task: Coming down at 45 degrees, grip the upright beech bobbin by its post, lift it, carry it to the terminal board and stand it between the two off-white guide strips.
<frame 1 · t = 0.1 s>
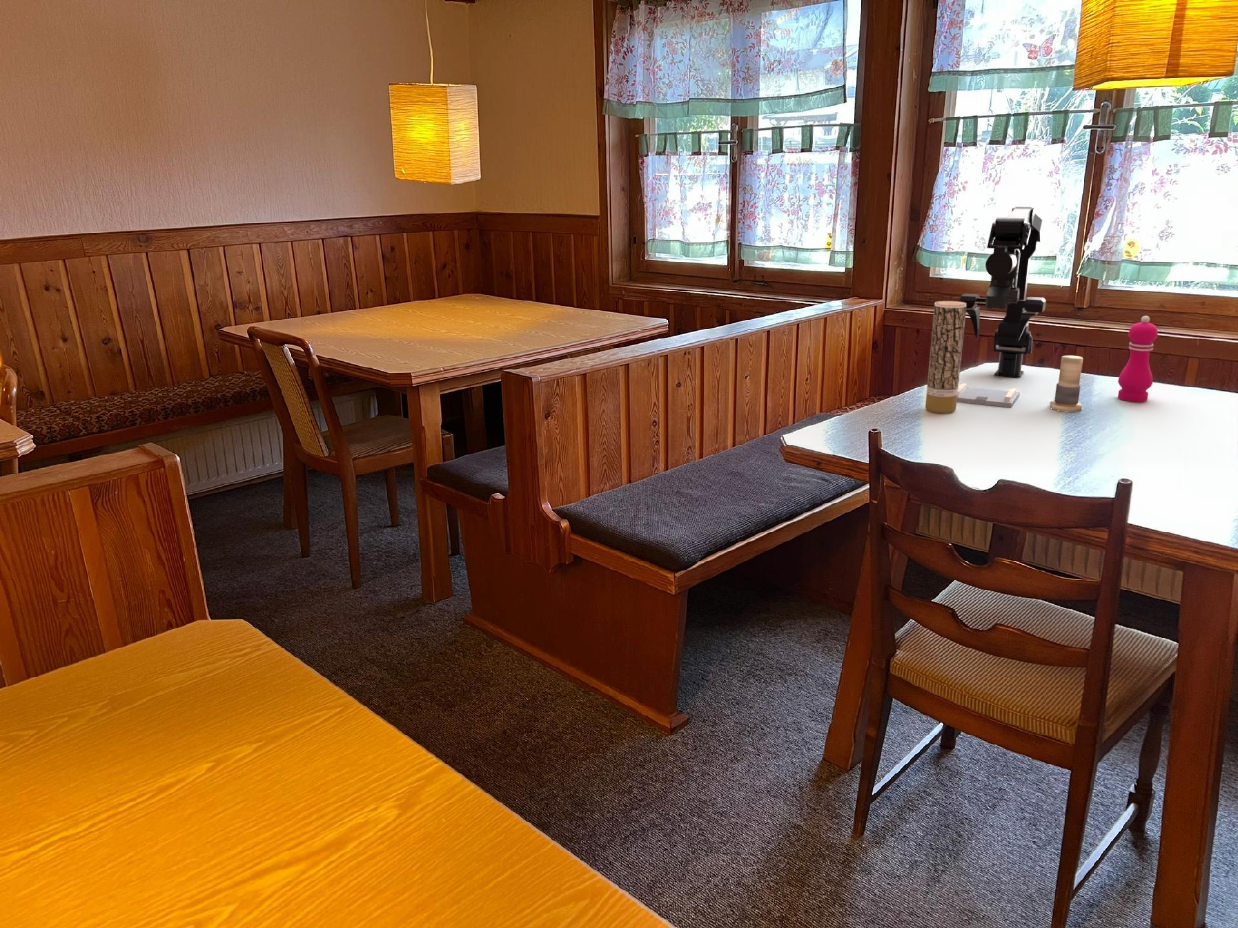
hand: (997, 339, 217), 15 cm above the table, tool pointing down, fingers open, 9 cm apart
pepper mill: (1132, 399, 218), on the table
bobbin: (1065, 408, 212), on the table
wooden log: (940, 411, 212), on the table
terminal board: (984, 398, 222), on the table
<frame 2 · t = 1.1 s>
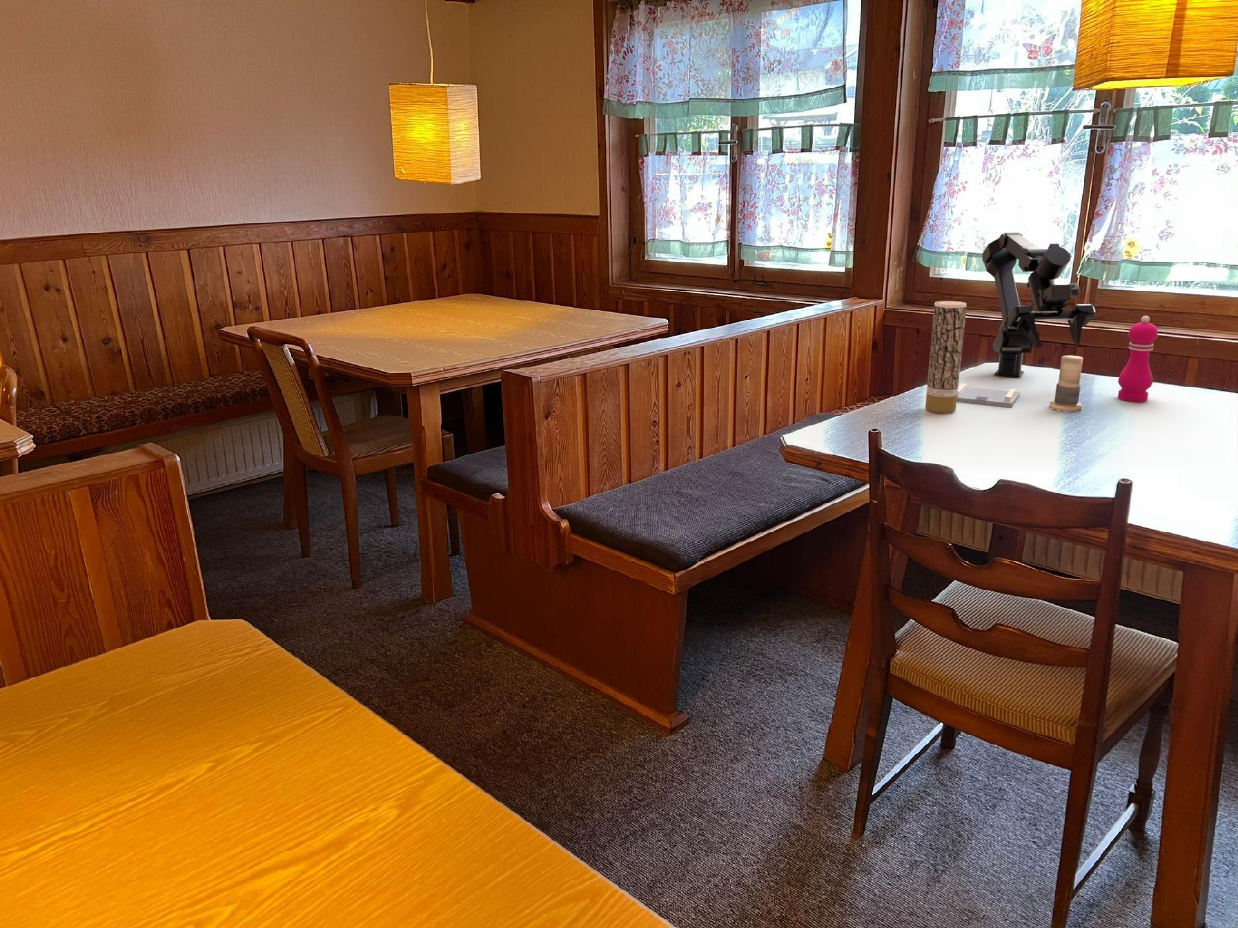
hand: (1058, 345, 215), 13 cm above the table, tool tilted 45°, fingers open, 9 cm apart
nothing on the table moved.
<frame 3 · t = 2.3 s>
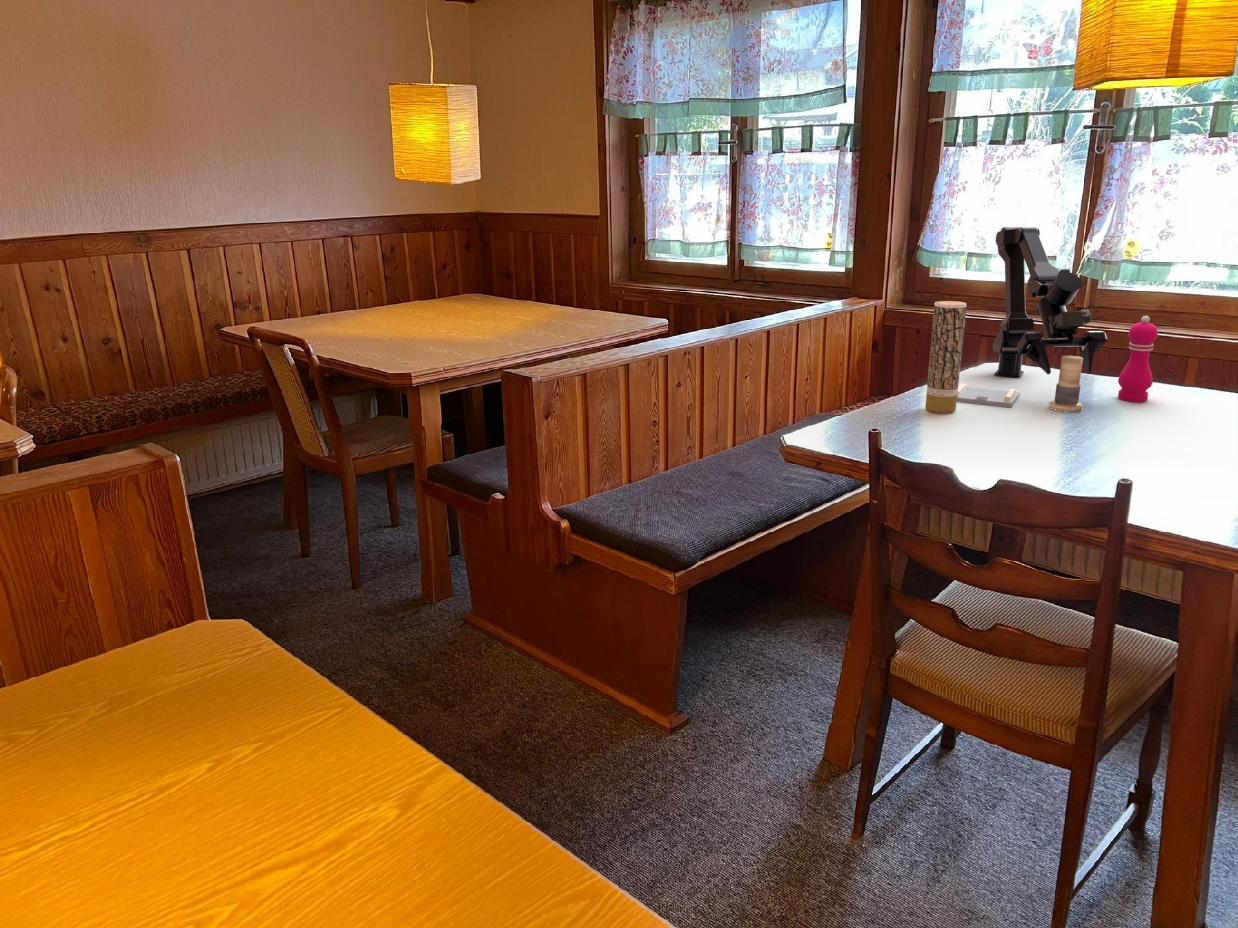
hand: (1069, 373, 210), 8 cm above the table, tool tilted 45°, fingers open, 9 cm apart
nothing on the table moved.
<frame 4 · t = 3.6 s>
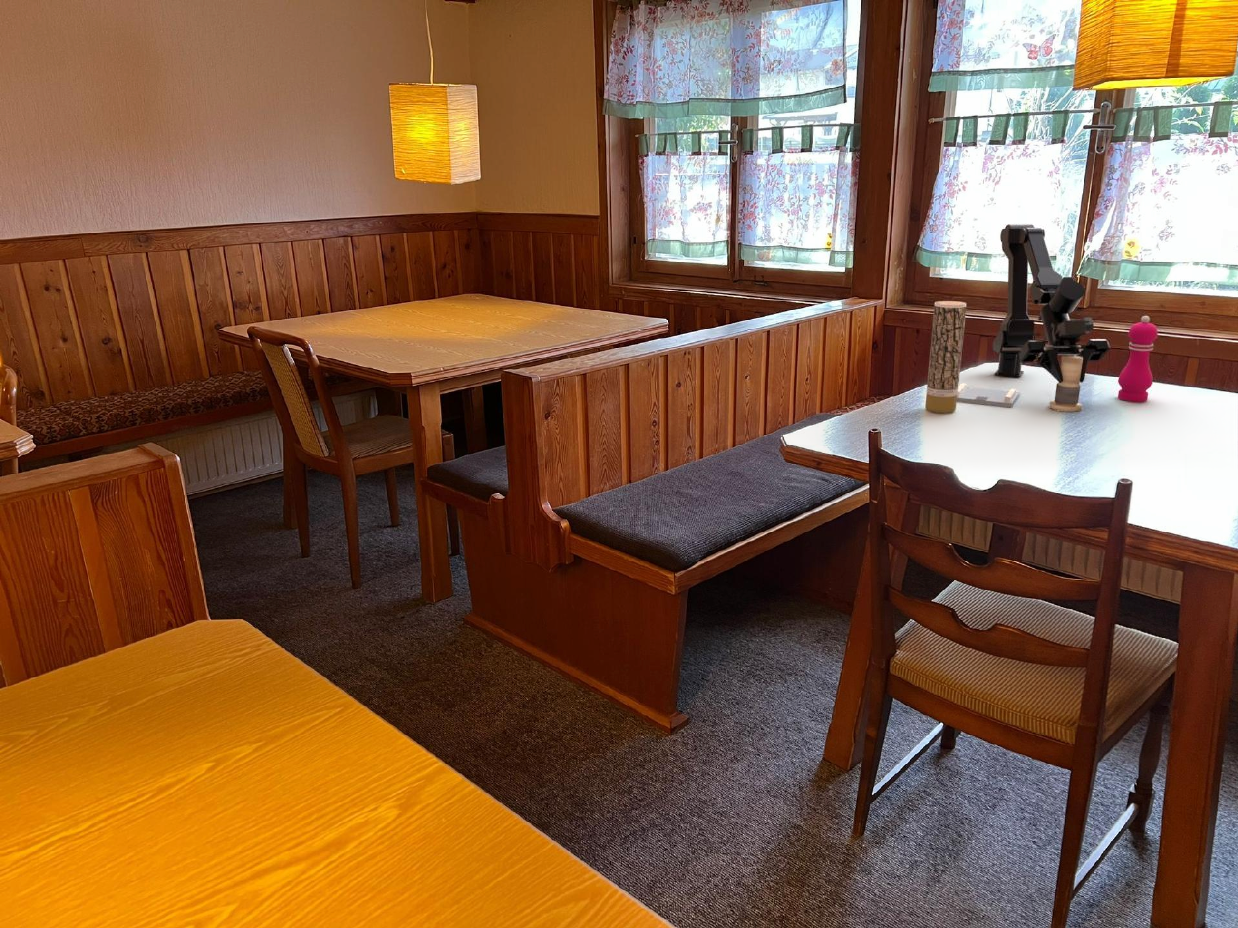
hand: (1071, 381, 208), 7 cm above the table, tool tilted 45°, fingers closed on bobbin, 4 cm apart
bobbin: (1065, 408, 212), on the table, touching gripper
everything else where it was.
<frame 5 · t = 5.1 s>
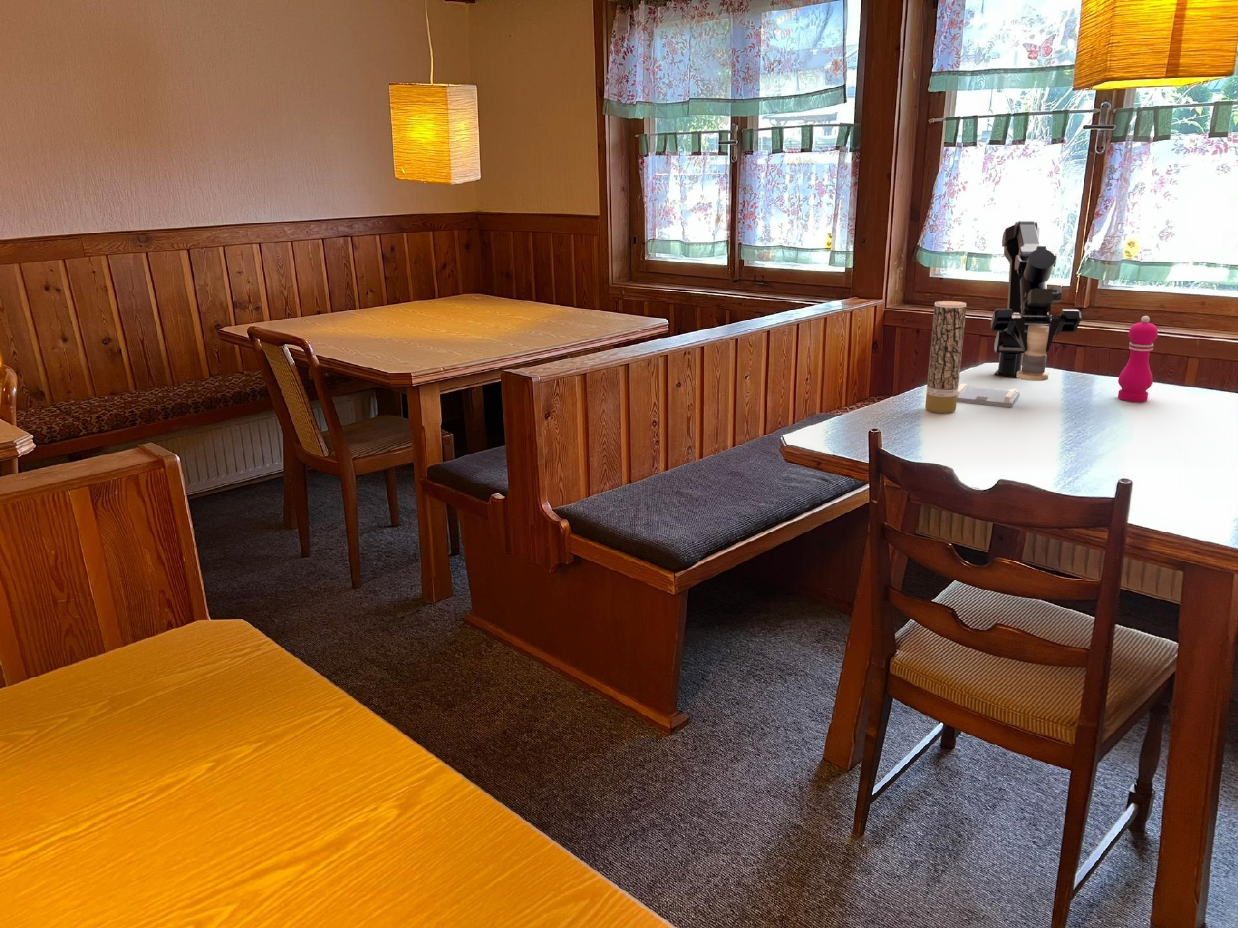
hand: (1036, 350, 209), 13 cm above the table, tool tilted 45°, fingers closed on bobbin, 4 cm apart
bobbin: (1032, 377, 213), point 7 cm above the table, touching gripper
everything else where it was.
when the fingers open (9 cm above the table, at t = 6.9 s): bobbin drops 1 cm, resting on terminal board.
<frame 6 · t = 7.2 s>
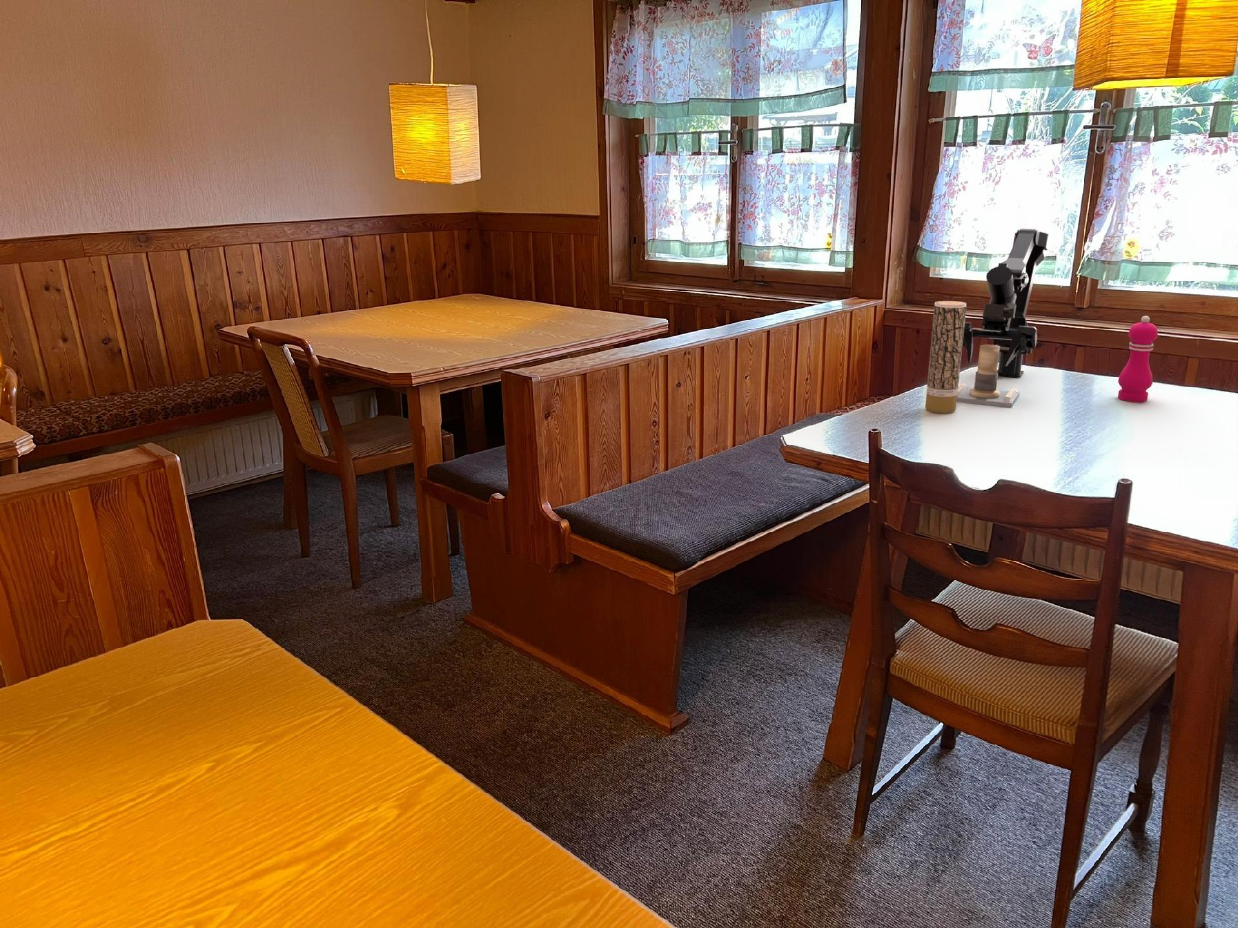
hand: (986, 363, 217), 9 cm above the table, tool tilted 45°, fingers open, 8 cm apart
bobbin: (984, 395, 220), point 1 cm above the table, touching terminal board
everything else where it was.
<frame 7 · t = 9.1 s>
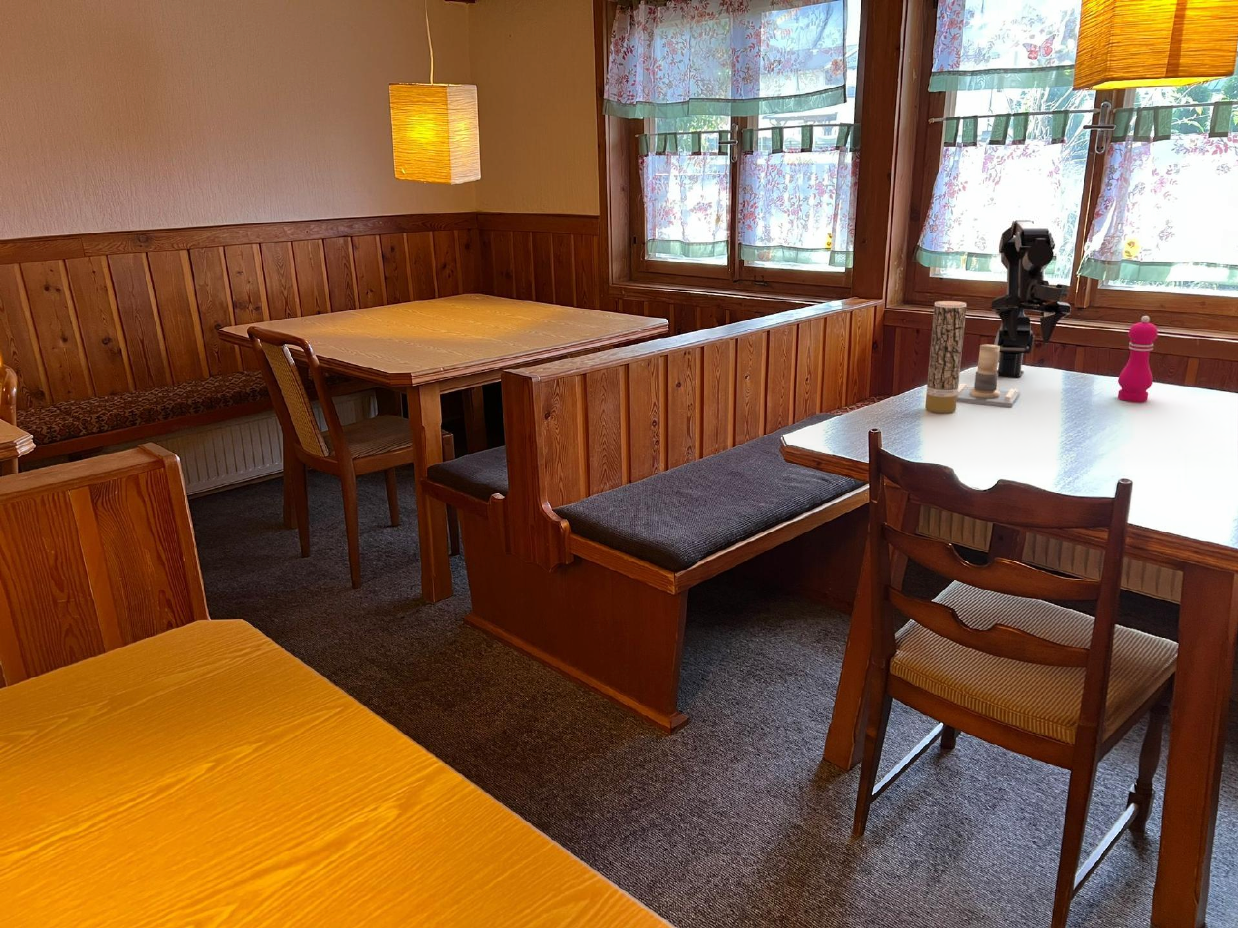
hand: (1030, 341, 220), 13 cm above the table, tool tilted 25°, fingers open, 9 cm apart
nothing on the table moved.
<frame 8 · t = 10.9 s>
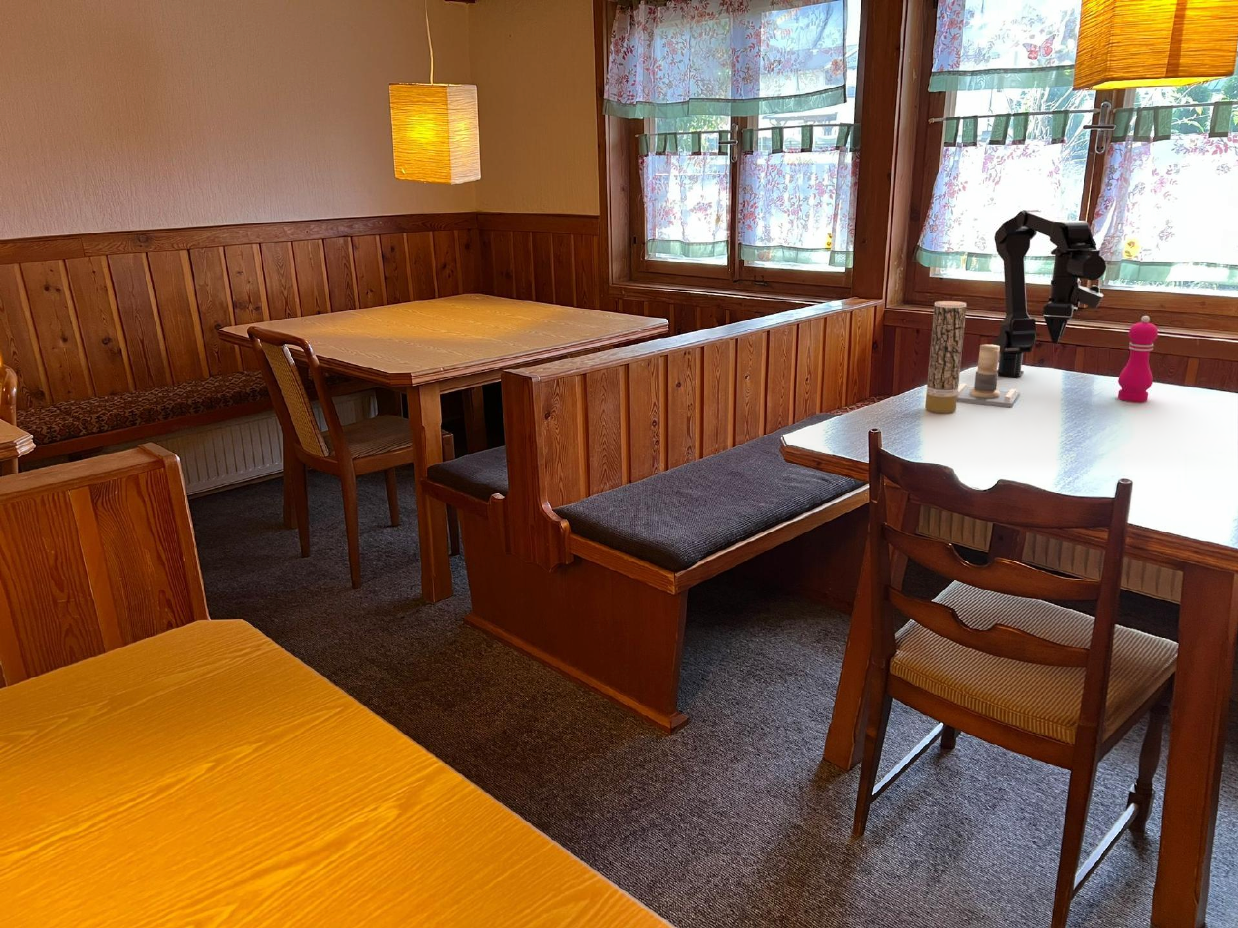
hand: (1057, 340, 222), 13 cm above the table, tool pointing down, fingers open, 9 cm apart
nothing on the table moved.
at the end: bobbin inside the target area on the terminal board (0.2 cm from its centre), point 1.1 cm above the terminal board's base; bobbin tilted 1°; the gripper is holding nothing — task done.
